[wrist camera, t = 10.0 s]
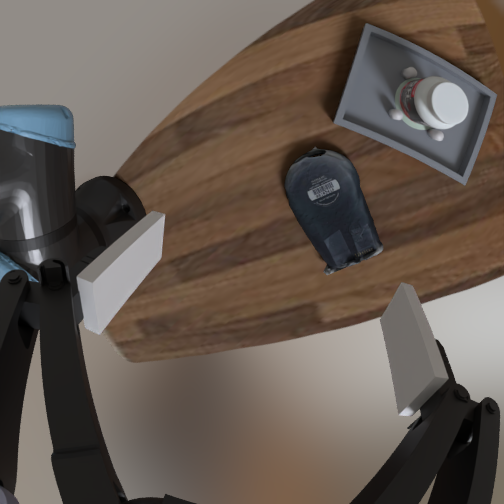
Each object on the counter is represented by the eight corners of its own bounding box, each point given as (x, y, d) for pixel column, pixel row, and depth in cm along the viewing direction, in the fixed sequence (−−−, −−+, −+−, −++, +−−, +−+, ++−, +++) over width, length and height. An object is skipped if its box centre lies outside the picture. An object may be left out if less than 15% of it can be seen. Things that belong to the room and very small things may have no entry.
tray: (332, 121, 32) (334, 123, 29) (363, 28, 26) (367, 21, 23) (457, 180, 32) (468, 187, 29) (487, 94, 25) (500, 94, 22)
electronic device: (385, 232, 39) (340, 135, 33) (389, 257, 35) (340, 150, 29) (326, 252, 44) (274, 166, 38) (323, 278, 40) (264, 184, 33)
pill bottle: (395, 78, 27) (422, 70, 19) (436, 82, 26) (473, 78, 18) (399, 123, 30) (426, 130, 21) (439, 125, 28) (476, 135, 20)
